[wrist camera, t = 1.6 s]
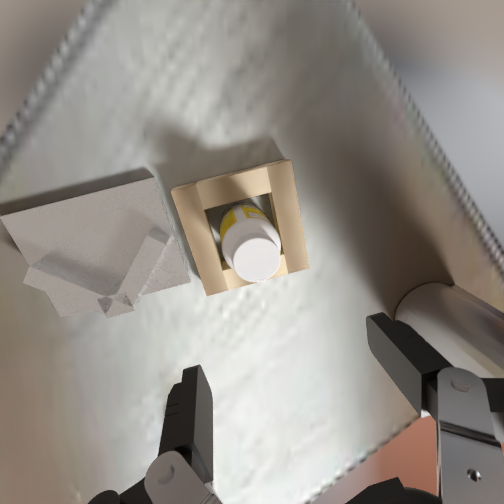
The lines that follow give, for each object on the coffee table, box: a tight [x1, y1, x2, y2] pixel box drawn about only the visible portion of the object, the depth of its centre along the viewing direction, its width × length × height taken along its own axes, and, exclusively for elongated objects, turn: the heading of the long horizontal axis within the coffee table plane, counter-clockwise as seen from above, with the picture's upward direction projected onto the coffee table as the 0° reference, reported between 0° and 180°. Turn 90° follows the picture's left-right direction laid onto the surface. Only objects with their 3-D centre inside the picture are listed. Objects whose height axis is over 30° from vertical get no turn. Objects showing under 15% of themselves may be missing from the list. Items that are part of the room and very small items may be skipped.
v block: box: [0, 177, 191, 318], centre depth 29 cm, size 15×12×4 cm
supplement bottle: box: [219, 203, 281, 282], centre depth 27 cm, size 5×5×10 cm
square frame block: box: [171, 159, 309, 296], centre depth 30 cm, size 12×12×2 cm
